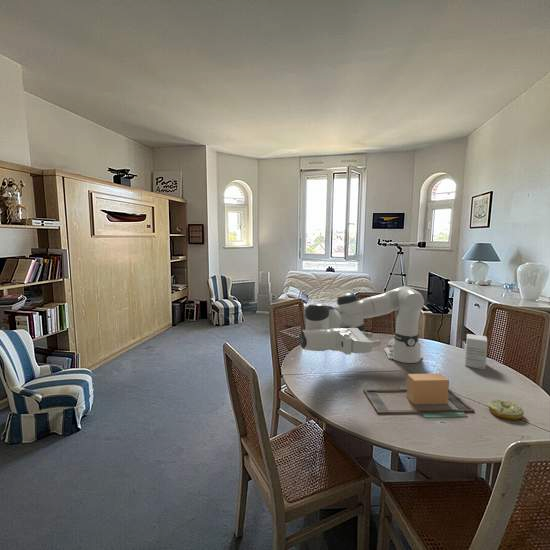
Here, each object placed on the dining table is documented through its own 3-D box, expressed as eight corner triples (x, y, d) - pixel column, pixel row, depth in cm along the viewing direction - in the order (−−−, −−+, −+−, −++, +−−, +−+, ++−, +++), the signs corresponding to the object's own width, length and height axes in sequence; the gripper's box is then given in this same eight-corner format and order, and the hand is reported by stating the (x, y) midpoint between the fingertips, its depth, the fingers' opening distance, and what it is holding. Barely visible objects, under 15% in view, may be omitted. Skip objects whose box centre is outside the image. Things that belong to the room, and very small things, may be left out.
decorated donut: (481, 406, 126) (482, 397, 125) (510, 406, 125) (510, 397, 125) (499, 421, 115) (499, 411, 115) (529, 422, 115) (530, 412, 115)
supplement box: (464, 360, 172) (466, 333, 170) (484, 363, 167) (486, 335, 165) (464, 366, 164) (466, 338, 162) (485, 369, 159) (487, 340, 157)
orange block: (406, 396, 133) (407, 374, 132) (439, 396, 134) (440, 373, 132) (413, 404, 127) (414, 380, 126) (447, 403, 128) (449, 380, 126)
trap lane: (361, 387, 141) (361, 386, 141) (444, 386, 142) (444, 384, 142) (380, 418, 117) (380, 416, 117) (479, 416, 118) (479, 414, 118)
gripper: (335, 338, 137) (367, 338, 137) (348, 356, 116) (385, 355, 117) (335, 324, 136) (367, 323, 137) (348, 339, 116) (386, 339, 116)
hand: (376, 338), depth 127 cm, fingers open, 8 cm apart
